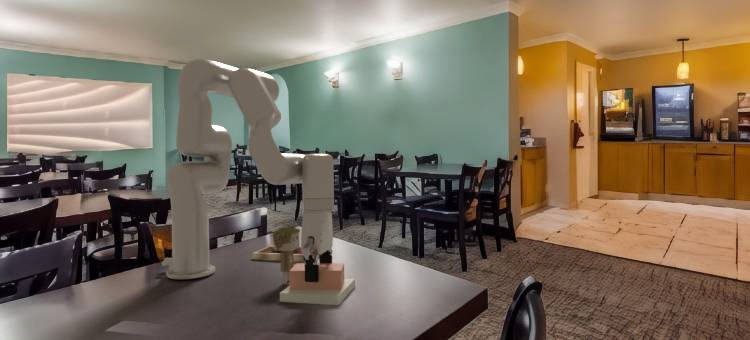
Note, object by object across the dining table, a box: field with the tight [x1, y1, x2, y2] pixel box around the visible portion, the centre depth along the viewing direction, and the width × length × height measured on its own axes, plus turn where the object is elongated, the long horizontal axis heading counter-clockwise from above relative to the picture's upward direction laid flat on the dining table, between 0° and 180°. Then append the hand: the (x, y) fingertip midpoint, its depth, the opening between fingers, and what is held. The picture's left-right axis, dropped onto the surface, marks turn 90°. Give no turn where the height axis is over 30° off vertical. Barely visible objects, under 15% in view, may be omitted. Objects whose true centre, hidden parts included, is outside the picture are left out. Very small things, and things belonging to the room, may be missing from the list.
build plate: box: [279, 277, 356, 306], centre depth 99 cm, size 14×14×2 cm
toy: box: [272, 225, 301, 285], centre depth 110 cm, size 7×7×15 cm
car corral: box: [252, 245, 322, 263], centre depth 133 cm, size 20×12×4 cm, turn 78°
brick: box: [289, 262, 345, 290], centre depth 99 cm, size 12×7×4 cm, turn 89°
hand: (319, 276), depth 99 cm, fingers open, 9 cm apart
